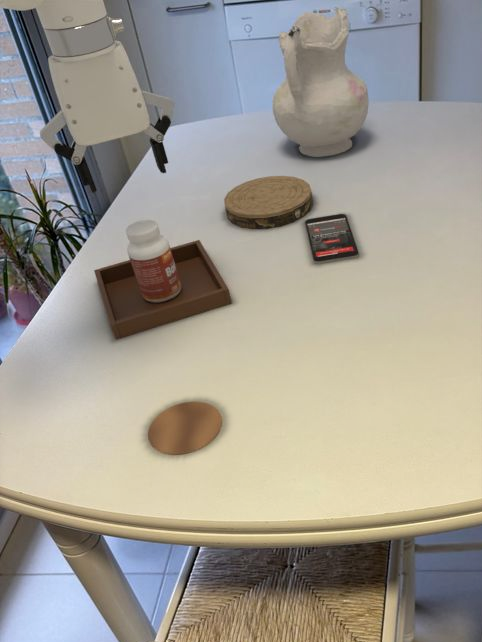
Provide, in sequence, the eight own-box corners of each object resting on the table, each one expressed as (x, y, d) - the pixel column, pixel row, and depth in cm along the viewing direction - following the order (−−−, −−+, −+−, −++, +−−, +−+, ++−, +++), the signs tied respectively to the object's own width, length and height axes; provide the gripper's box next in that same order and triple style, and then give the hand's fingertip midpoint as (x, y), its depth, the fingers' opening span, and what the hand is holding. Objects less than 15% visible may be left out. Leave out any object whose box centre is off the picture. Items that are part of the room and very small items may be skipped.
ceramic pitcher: (361, 175, 128) (363, 31, 110) (264, 172, 130) (251, 31, 113) (371, 134, 143) (374, 1, 125) (285, 132, 145) (276, 2, 128)
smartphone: (313, 262, 102) (304, 219, 112) (314, 266, 102) (304, 223, 113) (359, 254, 102) (345, 212, 112) (360, 259, 102) (346, 216, 113)
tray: (116, 342, 93) (110, 325, 91) (100, 285, 105) (93, 270, 103) (232, 305, 97) (228, 288, 95) (203, 255, 109) (199, 239, 107)
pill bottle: (182, 300, 99) (161, 233, 91) (142, 307, 98) (118, 240, 91) (182, 279, 103) (163, 214, 96) (144, 286, 103) (122, 220, 95)
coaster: (157, 467, 74) (155, 463, 74) (142, 419, 80) (141, 416, 80) (231, 440, 76) (230, 437, 75) (212, 396, 82) (210, 392, 82)
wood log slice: (299, 184, 125) (297, 168, 123) (324, 217, 114) (322, 201, 112) (219, 203, 123) (216, 188, 121) (237, 239, 112) (233, 223, 110)
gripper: (146, 17, 81) (182, 154, 93) (6, 48, 78) (62, 186, 89) (158, 28, 76) (195, 172, 88) (8, 63, 72) (68, 207, 84)
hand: (128, 179), depth 89 cm, fingers open, 9 cm apart
